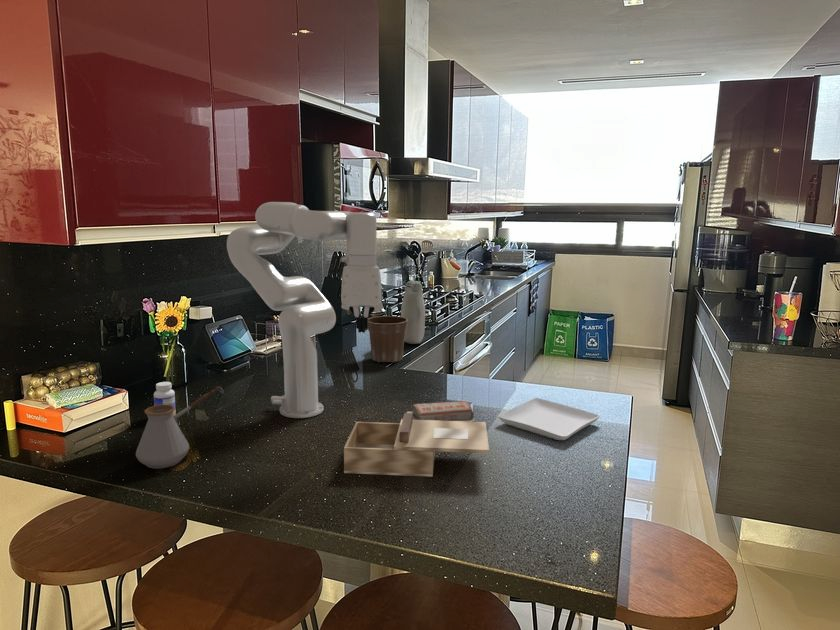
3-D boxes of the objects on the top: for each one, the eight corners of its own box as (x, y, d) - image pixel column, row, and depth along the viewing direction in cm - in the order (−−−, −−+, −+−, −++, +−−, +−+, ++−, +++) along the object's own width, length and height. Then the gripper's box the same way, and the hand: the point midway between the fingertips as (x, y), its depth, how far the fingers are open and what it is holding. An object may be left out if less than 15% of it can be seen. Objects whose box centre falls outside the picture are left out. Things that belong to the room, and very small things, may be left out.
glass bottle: (396, 343, 252) (397, 280, 247) (413, 339, 259) (414, 278, 254) (411, 347, 245) (412, 282, 240) (428, 343, 252) (430, 280, 247)
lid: (394, 449, 127) (394, 435, 126) (401, 422, 143) (401, 409, 142) (489, 453, 125) (489, 439, 125) (485, 425, 142) (485, 412, 141)
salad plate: (564, 448, 144) (565, 435, 144) (495, 426, 158) (495, 414, 158) (601, 425, 160) (602, 414, 159) (535, 407, 174) (535, 396, 173)
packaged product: (466, 397, 168) (476, 408, 159) (465, 412, 169) (476, 425, 160) (406, 400, 164) (413, 412, 155) (406, 416, 165) (413, 429, 156)
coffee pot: (149, 477, 126) (143, 412, 123) (128, 461, 133) (123, 400, 130) (237, 448, 141) (234, 390, 138) (214, 435, 149) (211, 380, 146)
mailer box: (344, 472, 129) (343, 448, 128) (356, 444, 144) (356, 421, 143) (432, 476, 128) (433, 451, 126) (435, 447, 143) (435, 424, 142)
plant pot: (357, 359, 224) (357, 319, 221) (386, 352, 237) (386, 313, 233) (387, 367, 214) (387, 325, 211) (415, 359, 226) (416, 319, 223)
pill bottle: (152, 416, 162) (149, 383, 160) (171, 411, 165) (168, 379, 164) (160, 421, 158) (157, 387, 156) (179, 416, 162) (177, 383, 160)
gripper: (329, 262, 143) (330, 333, 146) (389, 263, 142) (388, 335, 145) (335, 259, 150) (336, 327, 153) (392, 260, 149) (392, 329, 153)
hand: (362, 331), depth 149 cm, fingers closed
